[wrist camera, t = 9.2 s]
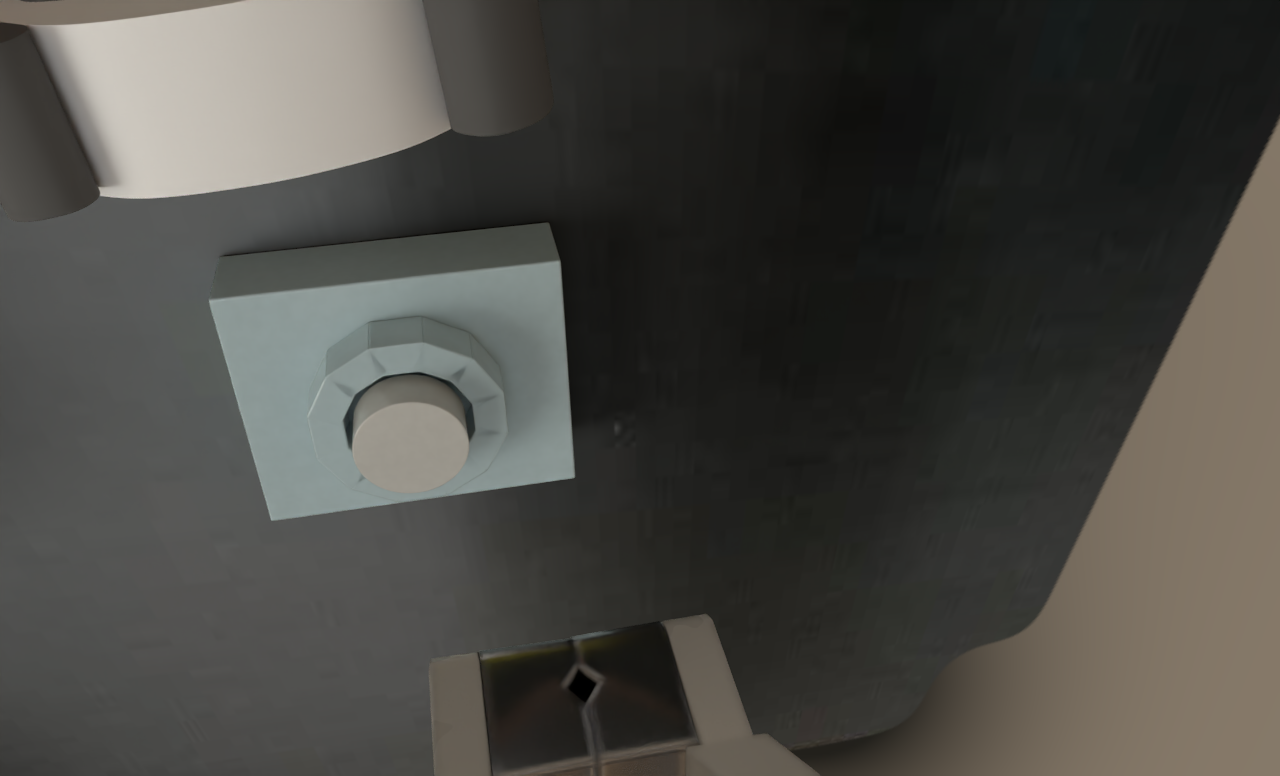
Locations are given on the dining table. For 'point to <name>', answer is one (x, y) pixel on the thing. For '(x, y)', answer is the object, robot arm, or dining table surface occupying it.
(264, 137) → the bear head bust
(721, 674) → the robot arm
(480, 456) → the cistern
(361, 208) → the dining table surface
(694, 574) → the dining table surface
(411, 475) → the flush button
